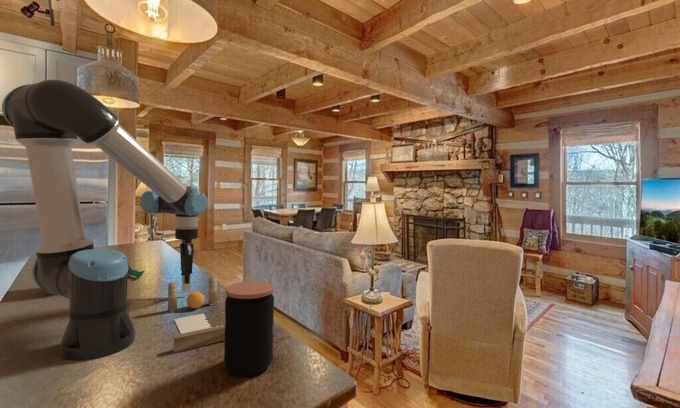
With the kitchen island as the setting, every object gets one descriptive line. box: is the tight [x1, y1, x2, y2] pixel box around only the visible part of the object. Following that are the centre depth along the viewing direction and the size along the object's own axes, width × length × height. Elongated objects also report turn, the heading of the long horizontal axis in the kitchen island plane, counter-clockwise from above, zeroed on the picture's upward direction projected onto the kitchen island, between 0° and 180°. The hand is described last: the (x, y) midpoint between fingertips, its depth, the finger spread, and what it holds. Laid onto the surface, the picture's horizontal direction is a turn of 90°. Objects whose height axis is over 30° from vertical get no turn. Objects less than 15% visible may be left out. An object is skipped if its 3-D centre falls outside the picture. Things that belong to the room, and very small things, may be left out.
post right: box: [208, 276, 218, 305], centre depth 112 cm, size 3×3×9 cm
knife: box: [128, 264, 145, 279], centre depth 144 cm, size 20×2×5 cm, turn 61°
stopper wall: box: [173, 325, 225, 354], centre depth 85 cm, size 2×20×4 cm, turn 125°
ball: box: [186, 290, 206, 309], centre depth 108 cm, size 6×6×6 cm
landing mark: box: [173, 313, 212, 334], centre depth 97 cm, size 14×14×1 cm
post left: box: [167, 282, 178, 313], centre depth 105 cm, size 3×3×9 cm
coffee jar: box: [223, 280, 275, 378], centre depth 74 cm, size 11×11×18 cm
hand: (186, 291), depth 119 cm, fingers closed
